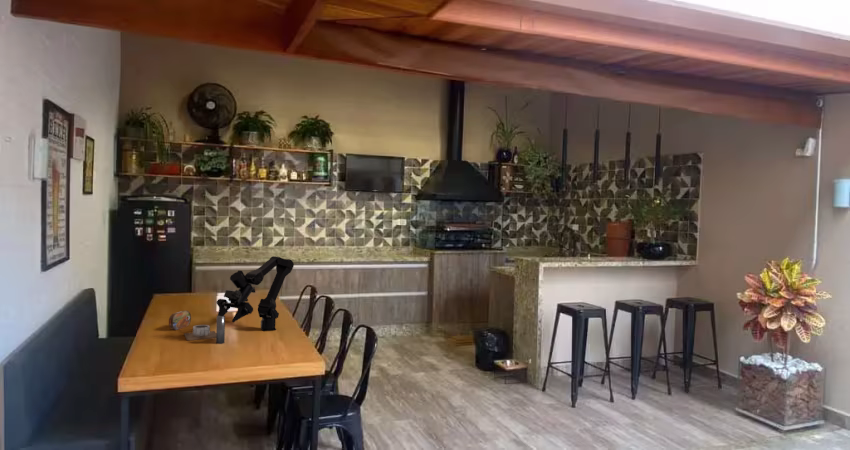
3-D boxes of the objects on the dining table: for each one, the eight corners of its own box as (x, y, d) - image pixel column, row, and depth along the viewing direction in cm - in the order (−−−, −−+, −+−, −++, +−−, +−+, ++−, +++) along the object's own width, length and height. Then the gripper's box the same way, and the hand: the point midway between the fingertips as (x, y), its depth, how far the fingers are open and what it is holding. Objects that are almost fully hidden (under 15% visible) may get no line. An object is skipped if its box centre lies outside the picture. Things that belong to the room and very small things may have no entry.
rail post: (223, 341, 259) (224, 315, 258) (225, 343, 256) (225, 316, 255) (215, 342, 257) (216, 315, 257) (216, 344, 254) (217, 317, 254)
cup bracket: (208, 332, 272) (208, 324, 272) (210, 335, 266) (210, 327, 266) (191, 333, 268) (192, 325, 268) (194, 337, 262) (194, 328, 262)
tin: (172, 331, 276) (173, 314, 276) (167, 330, 276) (167, 314, 276) (191, 325, 291) (191, 309, 290) (186, 324, 291) (186, 308, 291)
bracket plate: (214, 332, 276) (214, 330, 276) (218, 337, 265) (218, 336, 265) (183, 335, 269) (183, 333, 269) (187, 340, 258) (187, 338, 258)
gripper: (219, 282, 267) (201, 308, 257) (249, 285, 259) (231, 312, 249) (231, 296, 274) (213, 322, 264) (260, 300, 266) (243, 326, 257)
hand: (225, 320), depth 258 cm, fingers open, 9 cm apart
